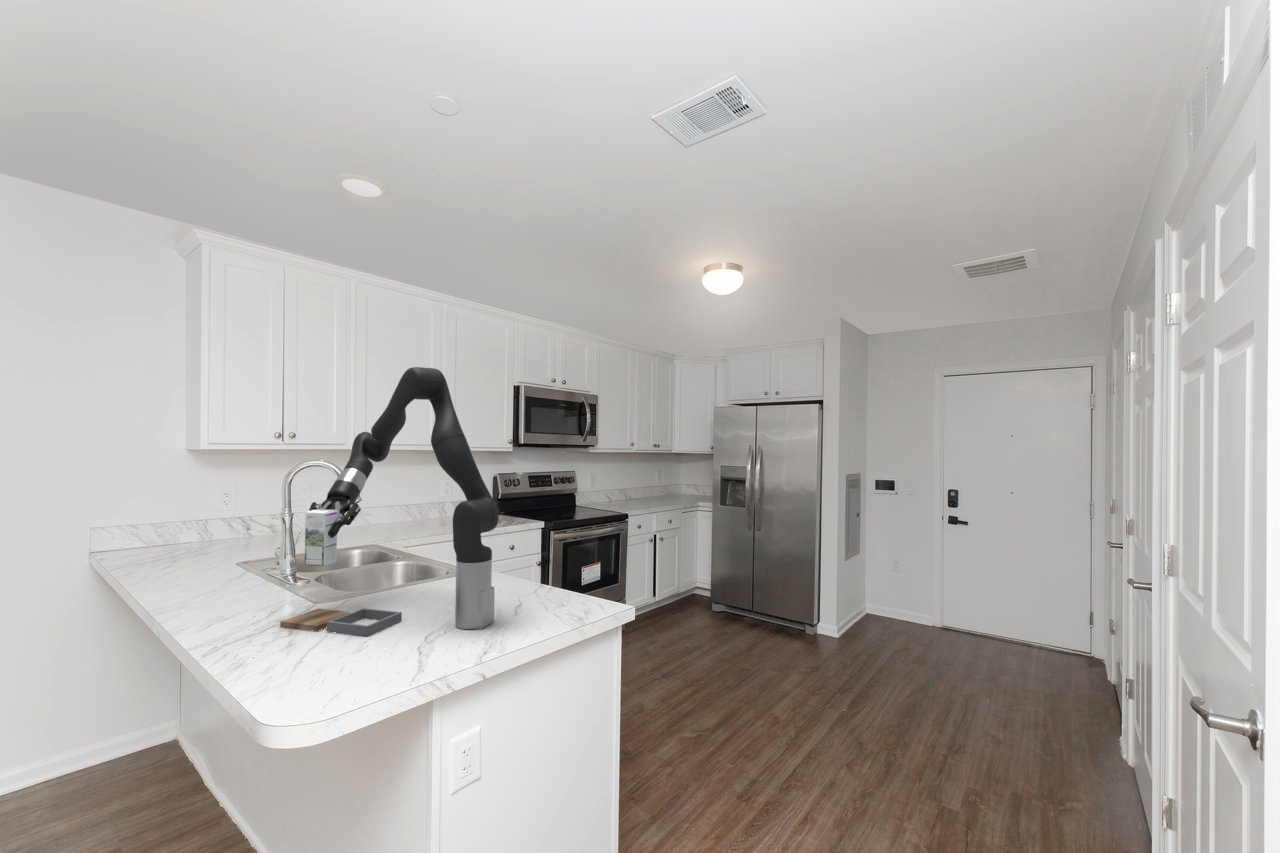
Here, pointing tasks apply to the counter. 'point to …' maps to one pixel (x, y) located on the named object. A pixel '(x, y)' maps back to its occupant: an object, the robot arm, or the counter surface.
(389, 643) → the counter surface
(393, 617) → the frame
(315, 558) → the syrup box
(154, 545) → the counter surface
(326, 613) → the walnut board
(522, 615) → the counter surface
